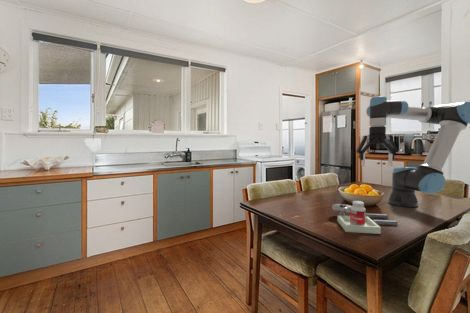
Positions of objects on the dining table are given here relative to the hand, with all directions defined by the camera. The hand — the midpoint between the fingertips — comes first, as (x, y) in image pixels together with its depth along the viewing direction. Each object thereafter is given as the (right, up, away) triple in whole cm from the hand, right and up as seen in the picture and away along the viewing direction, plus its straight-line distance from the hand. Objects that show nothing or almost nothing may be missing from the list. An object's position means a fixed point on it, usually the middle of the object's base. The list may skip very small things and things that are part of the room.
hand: (376, 165), depth 127 cm
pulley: (-21, -26, -5) cm, 34 cm away
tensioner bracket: (-4, -27, -11) cm, 29 cm away
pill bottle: (-20, -27, -18) cm, 38 cm away
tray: (-20, -27, -18) cm, 39 cm away
